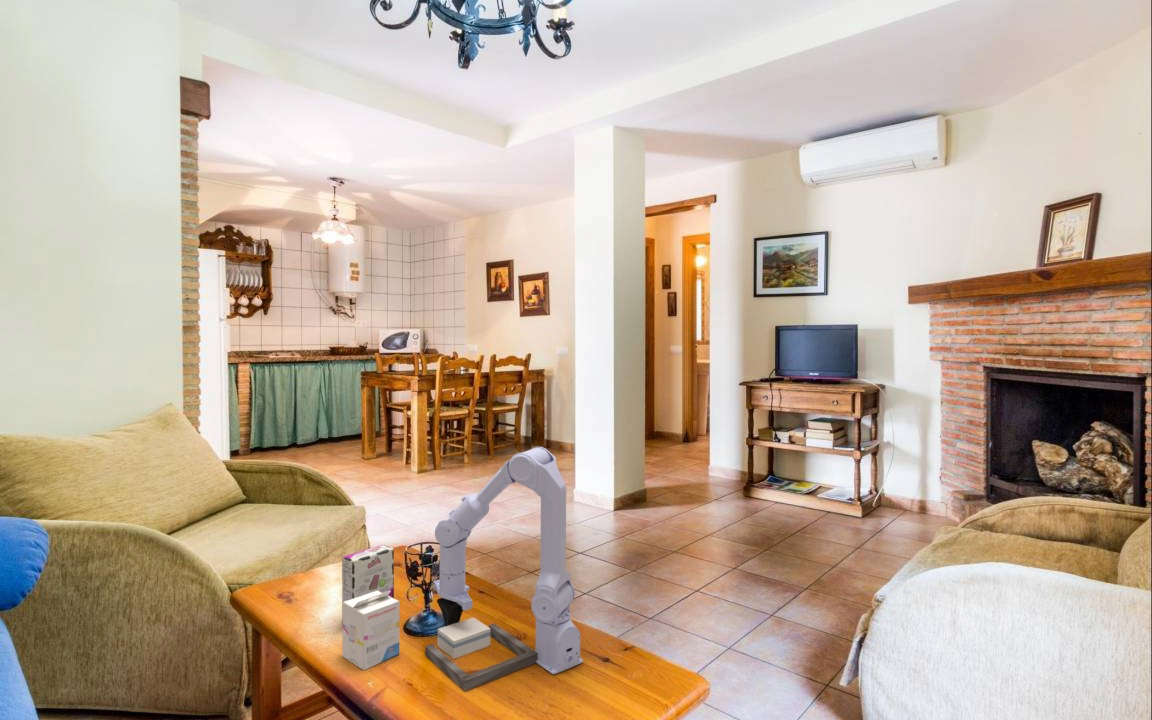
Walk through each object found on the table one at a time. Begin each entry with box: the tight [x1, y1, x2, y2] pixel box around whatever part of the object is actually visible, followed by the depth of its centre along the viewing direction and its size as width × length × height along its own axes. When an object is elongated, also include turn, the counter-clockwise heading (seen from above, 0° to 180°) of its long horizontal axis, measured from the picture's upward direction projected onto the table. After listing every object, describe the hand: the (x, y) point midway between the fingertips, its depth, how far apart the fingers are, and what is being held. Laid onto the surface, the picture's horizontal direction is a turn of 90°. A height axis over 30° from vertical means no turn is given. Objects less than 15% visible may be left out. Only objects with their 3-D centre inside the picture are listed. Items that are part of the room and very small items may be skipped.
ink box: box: [342, 590, 401, 671], centre depth 127 cm, size 9×8×13 cm
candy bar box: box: [341, 544, 395, 624], centre depth 143 cm, size 11×5×16 cm, turn 143°
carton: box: [436, 617, 492, 660], centre depth 132 cm, size 7×9×4 cm
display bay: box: [424, 623, 538, 692], centre depth 127 cm, size 17×17×2 cm
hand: (451, 630), depth 137 cm, fingers closed
